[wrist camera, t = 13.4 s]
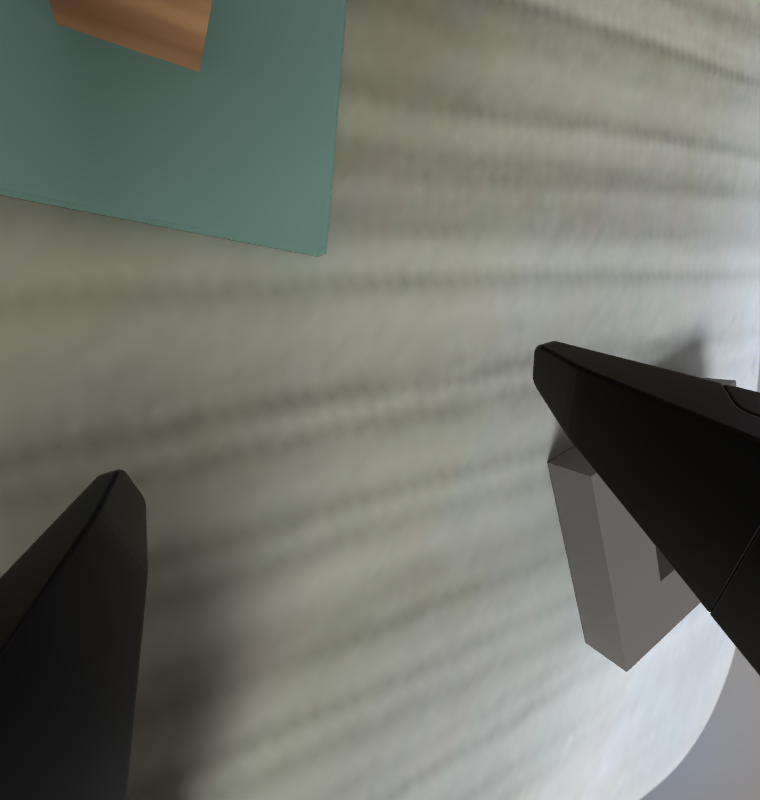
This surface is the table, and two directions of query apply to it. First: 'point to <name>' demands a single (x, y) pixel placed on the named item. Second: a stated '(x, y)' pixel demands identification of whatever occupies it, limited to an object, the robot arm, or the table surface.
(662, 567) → the grey square socket base
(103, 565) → the robot arm
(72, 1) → the plug
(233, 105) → the mat
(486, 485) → the table surface
